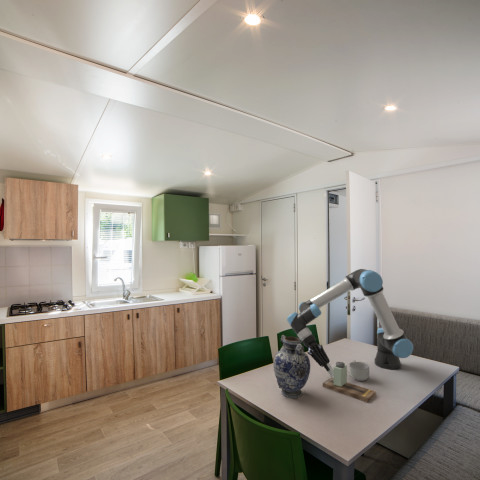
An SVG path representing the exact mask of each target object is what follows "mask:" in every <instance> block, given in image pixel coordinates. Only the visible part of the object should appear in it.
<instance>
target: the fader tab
mask: <svg viewBox="0 0 480 480" xmlns="http://www.w3.org/2000/svg"><path fill="white" fill-rule="evenodd" d="M333 370H334V376H333V378H334V385H337V386H340V387H341V386H343V385H344V384H346V383H347V382H348V365H346V364H345V363H344V362H343V361H337V362H335V366H334V367H333Z"/></svg>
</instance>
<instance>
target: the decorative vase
mask: <svg viewBox="0 0 480 480" xmlns="http://www.w3.org/2000/svg"><path fill="white" fill-rule="evenodd" d="M280 337H281V338H280V343H281V345H282V347H281V348H280V350H279V351H277V352H276V353H275V356H274V358H273V372H274V375H275V378H276V382H277V386H278V389H281V390H280V391H281V395H283V396H284V397H286V398H288V399H297V398H301V397H302V396H303V391H302V389H303V388H304V387H305V386H306V384H307V382H308V380H309V378H310V373H311V361H310V357H309V356H308V355H309V354H308V353H306V352H305V348H304V347H305V346H304V345H302V344H303V343H302V341H301V340H300V338H299V337H298V336H286V335H284V334H282V335H281V336H280Z"/></svg>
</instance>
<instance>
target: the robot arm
mask: <svg viewBox="0 0 480 480" xmlns="http://www.w3.org/2000/svg"><path fill="white" fill-rule="evenodd" d="M383 284H384V283H383V278H382V276H381V274H379V273H378V272H376V271H374V270H372V269H365V268H359V269H357V270H355V271H353V272H350V273H349V274H347V275H345V276H344V277H343V279H342V280H340V281H339V282H337V283H336V284H334V285H332V286H331V287H329V288H327V289H325V290H324V291H322V292H320V293H319V294H317V295H316V296H313V297H312V298H310V299H308V300H307V301H302V302H300V303H299V304H298V310H299V313H298V312H297V311H295V312H293V313H290V314H289V315H288V316H287V319H286V321H287V322H288V324H289V326H290V327H291V329H292V331H294V333H295V335H296V336H297V337H298V338H299V339H300V340H301V341H302V343H301V344H303V347H305V348H307V349H308V351H307V353H306V354H307V355H309V356H311V358H312V359H313V360H314V361H315V362H316V363H317V364H318V366H320V367H321V368H324V369H325V371H326V372H327V373H328V375H329V376H330V378H334V368H333V367H332V366H331V364H330V361H331V360H330V358H329V356H328V355H327V353H326V351H325V350H324V346H323V345H322V344H318V343H317V339H316V337H315V336H314V334H312V331H311V330H310V329H309V327H308V326H307V325H308V324H310V323H312V322H313V321H314V320H317V318H319V317H320V316H321V315H322V311H321V308H323V307H324V306H326V305H328V304H329V303H332V302H334V300H336V299H338V298H340V297H342V296H343V295H344V294H347V293H349V292H350V291H352V292H353V291H355V290H357V289H360V290H361V292H362V295H363V296H364V297H366V298H367V299H368V301H369V303H370V306H371V307H372V309H373V312H374V313H375V316H376V318H377V320H378V322H379V324H380V327H379V328H377V331H376V334H377V335H376V337H377V338H376V340H377V341H376V344H377V346H376V347H377V349H376V350H377V352H376V355H375V358H374V365H375V366H377V367H379V368H383V369H387V370H398V369H399V370H400V369H401V367H402V362H401V359H407V358H408V357H410V356H411V355H412V353H413V351H414V344H413V342H412V341H411V340H410V339H408V337H407V336H406V333H405V331H404V330H403V329H401V328H400V327H399V325H398V322H397V321H396V319H395V317H394V314H393V312H392V311H391V308H390V305H389V304H388V301H387V299H386V297H385V295H384V293H383V292H384V287H383Z"/></svg>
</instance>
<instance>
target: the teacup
mask: <svg viewBox="0 0 480 480" xmlns="http://www.w3.org/2000/svg"><path fill="white" fill-rule="evenodd" d="M348 367H349V369H348V370H349V376H351V378H352V379H354V380H355V381H358V382H364V381H366V380H368V379H369V378H370V365H369V364H368V363H367V362H363V361H357V360H352V362H349V364H348Z"/></svg>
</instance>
